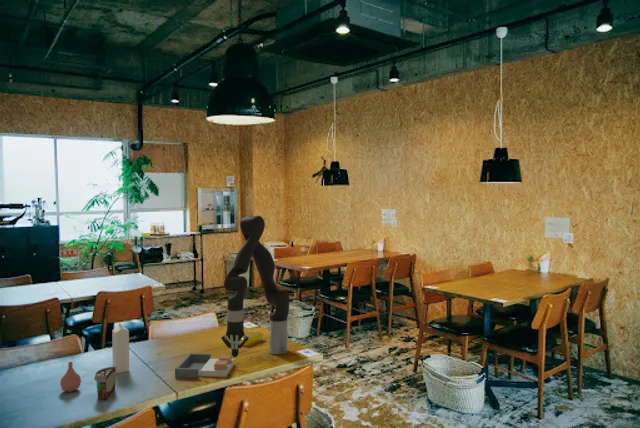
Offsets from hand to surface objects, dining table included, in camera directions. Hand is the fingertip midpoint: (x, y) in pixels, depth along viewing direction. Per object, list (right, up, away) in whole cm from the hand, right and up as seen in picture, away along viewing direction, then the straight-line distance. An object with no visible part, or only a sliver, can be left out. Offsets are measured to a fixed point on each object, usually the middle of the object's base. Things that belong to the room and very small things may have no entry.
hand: (235, 356), depth 217 cm
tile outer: (-7, -5, +1) cm, 8 cm away
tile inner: (-6, -5, +9) cm, 12 cm away
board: (-9, -8, +5) cm, 13 cm away
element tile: (-3, -7, +50) cm, 50 cm away
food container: (-49, -9, -24) cm, 56 cm away
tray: (-20, -8, +5) cm, 22 cm away
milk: (-54, -8, +4) cm, 55 cm away
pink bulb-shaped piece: (-65, -9, -20) cm, 68 cm away
